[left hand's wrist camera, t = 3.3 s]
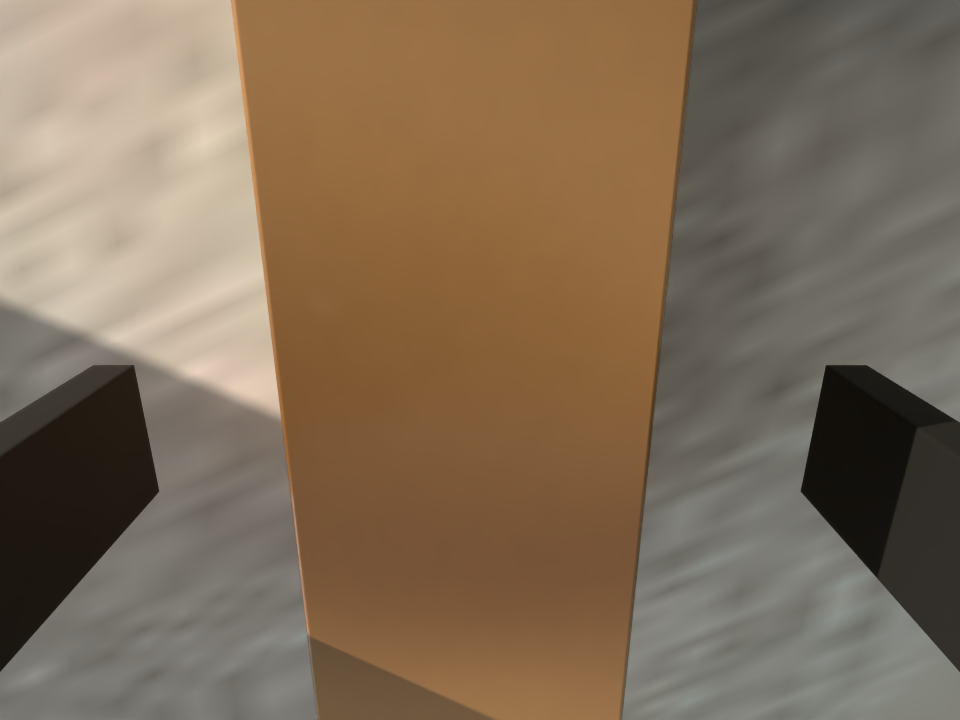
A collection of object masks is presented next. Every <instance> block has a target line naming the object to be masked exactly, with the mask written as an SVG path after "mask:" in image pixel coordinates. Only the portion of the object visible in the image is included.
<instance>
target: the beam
mask: <svg viewBox="0 0 960 720" xmlns="http://www.w3.org/2000/svg"><path fill="white" fill-rule="evenodd" d="M231 4H232V13H233V21H234V29H235V38H236V46H237V54H238V63H239V71H240V79H241V88H242V96H243V104H244V113H245V121H246V129H247V138H248V146H249V154H250V162H251V171H252V179H253V187H254V196H255V204H256V212H257V221H258V229H259V237H260V246H261V254H262V262H263V271H264V279H265V287H266V296H267V304H268V312H269V321H270V329H271V337H272V346H273V354H274V362H275V371H276V379H277V387H278V395H279V404H280V412H281V420H282V429H283V437H284V445H285V454H286V462H287V470H288V479H289V487H290V495H291V504H292V512H293V520H294V529H295V537H296V545H297V554H298V562H299V570H300V579H301V587H302V595H303V604H304V612H305V620H306V628H307V637H308V645H309V653H310V662H311V670H312V678H313V687H314V695H315V703H316V712H317V720H622V714H623V704H624V694H625V685H626V675H627V666H628V656H629V647H630V637H631V628H632V618H633V609H634V599H635V590H636V580H637V571H638V561H639V551H640V542H641V532H642V523H643V513H644V504H645V494H646V485H647V475H648V466H649V456H650V447H651V437H652V428H653V418H654V408H655V399H656V389H657V380H658V370H659V361H660V351H661V342H662V332H663V323H664V313H665V304H666V294H667V284H668V275H669V265H670V256H671V246H672V237H673V227H674V218H675V208H676V199H677V189H678V180H679V170H680V161H681V151H682V141H683V132H684V122H685V113H686V103H687V94H688V84H689V75H690V65H691V56H692V46H693V37H694V27H695V18H696V8H697V0H231Z"/></svg>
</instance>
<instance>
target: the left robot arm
mask: <svg viewBox="0 0 960 720" xmlns="http://www.w3.org/2000/svg"><path fill="white" fill-rule="evenodd" d="M158 492H159V488H158V483H157V478H156V473H155V468H154V463H153V458H152V453H151V448H150V443H149V438H148V433H147V428H146V423H145V418H144V413H143V408H142V403H141V398H140V393H139V388H138V383H137V378H136V373H135V368H134V365H93V366H92V367H90V368H88V369H87V370H85V371H83V372H82V373H80V374H79V375H77V376H75V377H74V378H72V379H70V380H69V381H67V382H66V383H64V384H62V385H61V386H59V387H57V388H56V389H54V390H53V391H51V392H49V393H48V394H46V395H44V396H43V397H41V398H40V399H38V400H36V401H35V402H33V403H31V404H30V405H28V406H27V407H25V408H23V409H22V410H20V411H18V412H17V413H15V414H13V415H12V416H10V417H9V418H7V419H5V420H4V421H2V422H0V671H1V670H2V669H3V668H4V667H5V666H6V665H7V663H8V662H9V661H10V660H11V659H12V658H13V657H14V656H15V654H16V653H17V652H18V651H19V650H20V649H21V648H22V646H23V645H24V644H25V643H26V642H27V641H28V640H29V639H30V637H31V636H32V635H33V634H34V633H35V632H36V631H37V629H38V628H39V627H40V626H41V625H42V624H43V623H44V622H45V620H46V619H47V618H48V617H49V616H50V615H51V614H52V612H53V611H54V610H55V609H56V608H57V607H58V606H59V605H60V603H61V602H62V601H63V600H64V599H65V598H66V597H67V595H68V594H69V593H70V592H71V591H72V590H73V589H74V588H75V586H76V585H77V584H78V583H79V582H80V581H81V580H82V578H83V577H84V576H85V575H86V574H87V573H88V572H89V571H90V569H91V568H92V567H93V566H94V565H95V564H96V563H97V561H98V560H99V559H100V558H101V557H102V556H103V555H104V554H105V552H106V551H107V550H108V549H109V548H110V547H111V546H112V544H113V543H114V542H115V541H116V540H117V539H118V538H119V537H120V535H121V534H122V533H123V532H124V531H125V530H126V529H127V527H128V526H129V525H130V524H131V523H132V522H133V521H134V520H135V518H136V517H137V516H138V515H139V514H140V513H141V512H142V510H143V509H144V508H145V507H146V506H147V505H148V504H149V503H150V501H151V500H152V499H153V498H154V497H155V496H156V495H157V493H158ZM801 492H802V493H803V495H804V496H805V497H806V498H807V499H808V500H809V501H810V503H811V504H812V505H813V506H814V507H815V508H816V509H817V510H818V512H819V513H820V514H821V515H822V516H823V517H824V518H825V520H826V521H827V522H828V523H829V524H830V525H831V526H832V527H833V529H834V530H835V531H836V532H837V533H838V534H839V535H840V537H841V538H842V539H843V540H844V541H845V542H846V543H847V544H848V546H849V547H850V548H851V549H852V550H853V551H854V552H855V554H856V555H857V556H858V557H859V558H860V559H861V560H862V561H863V563H864V564H865V565H866V566H867V567H868V568H869V569H870V571H871V572H872V573H873V574H874V575H875V576H876V577H877V578H878V580H879V581H880V582H881V583H882V584H883V585H884V586H885V588H886V589H887V590H888V591H889V592H890V593H891V594H892V595H893V597H894V598H895V599H896V600H897V601H898V602H899V603H900V605H901V606H902V607H903V608H904V609H905V610H906V611H907V612H908V614H909V615H910V616H911V617H912V618H913V619H914V620H915V622H916V623H917V624H918V625H919V626H920V627H921V628H922V629H923V631H924V632H925V633H926V634H927V635H928V636H929V637H930V639H931V640H932V641H933V642H934V643H935V644H936V645H937V646H938V648H939V649H940V650H941V651H942V652H943V653H944V654H945V656H946V657H947V658H948V659H949V660H950V661H951V662H952V663H953V665H954V666H955V667H956V668H957V669H958V670H959V671H960V422H958V421H956V420H955V419H953V418H951V417H950V416H948V415H947V414H945V413H943V412H942V411H940V410H938V409H937V408H935V407H933V406H932V405H930V404H929V403H927V402H925V401H924V400H922V399H920V398H919V397H917V396H916V395H914V394H912V393H911V392H909V391H907V390H906V389H904V388H903V387H901V386H899V385H898V384H896V383H894V382H893V381H891V380H890V379H888V378H886V377H885V376H883V375H881V374H880V373H878V372H877V371H875V370H873V369H872V368H870V367H868V366H867V365H826V368H825V373H824V378H823V383H822V388H821V393H820V398H819V403H818V408H817V413H816V418H815V423H814V428H813V433H812V438H811V443H810V448H809V453H808V458H807V463H806V468H805V473H804V478H803V483H802V488H801Z"/></svg>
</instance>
